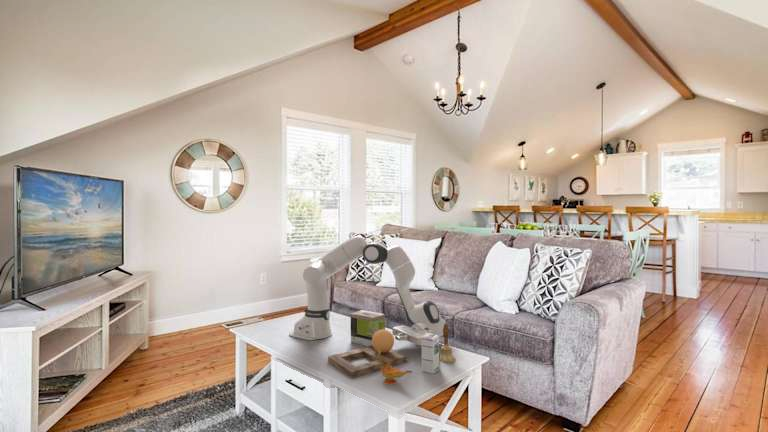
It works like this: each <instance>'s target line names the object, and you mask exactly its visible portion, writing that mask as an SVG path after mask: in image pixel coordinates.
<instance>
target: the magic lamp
mask: <svg viewBox="0 0 768 432" xmlns="http://www.w3.org/2000/svg"><path fill="white" fill-rule="evenodd" d="M378 353H379V354H378V356H379V357H380V354H381V351H380V350H379V349H378ZM378 356H377V358H378ZM380 360H381V358H380ZM377 362H378V360H377ZM378 363H379V362H378ZM381 363H382V361H381ZM382 364H383V363H382ZM379 365H380V366H381V364H380V363H379ZM383 366H386V367H385V368H383V367H382V366H381V367H382V368H383V369H381V370H380V372H381V374H382V376H383V377H384V378H386V379H384V380H383V383H384V384H386V385H394V384H396V383H397V382H398V381H397V379H398V378H400V377H403V376H405V375H407V374H409V373H410V374H411V373H413V371H412V370H405V371H404V370H403V371H401V370H399V368H397V367H394V366H391V365H390V363H389V362H388V363H387V364H386V365H383ZM396 378H397V379H396Z"/></svg>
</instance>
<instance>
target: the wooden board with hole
mask: <svg viewBox="0 0 768 432" xmlns="http://www.w3.org/2000/svg"><path fill="white" fill-rule="evenodd" d="M378 354H379V353H378V351H376V350H375V349H374V347H373V345H371V346H364V347H360V348H356V349H352V350H348V351H345V352H340V353H338V354H333V355H329V356H327V363H329V364H330V365H332V366H333V367H335V368H336V369H337V370H339V371H341V372H342V373H344V374H345V375H346V376H348V377H350V378H351V379H354V378H358V377H361V376H363V375H368V374H371V373H374V372H377V371H382V370H381V369H383V368H385V367H386V366H383V365H386V364H387V363H388V362H389V363H390V365H391V366H392V367H394V366H397V365H400V364H403V363H407V361H408V360H407V355H406V354H403V353H401V352H399V351H398V350H395V349H393V348H392V349H391V350H390V351H388V352H385V353H381V354H380V357H379V356H378ZM377 356H378V358H377ZM359 358H366V359H367V360H369V362H364V363H362V364H359V365H354V364H352V363H351V362H349V361H353V360H356V359H359ZM380 358H381V360H380ZM377 360H378V362H379V363H380V364H381V366H382V367H383V368H382V367H381V366H380V365H379V363H378V362H377ZM381 361H382V363H383V364H382V363H381Z"/></svg>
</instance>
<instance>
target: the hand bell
mask: <svg viewBox="0 0 768 432" xmlns="http://www.w3.org/2000/svg"><path fill="white" fill-rule="evenodd" d="M449 334H450V330H449V326H448V323H447V322H446V323H445V324H444V327H443V337H444V340H443V341H444V342H443V343H444V344H443V345H441V347H440V363H441V362H442V363H453V362H455V361H457V359H456V357H455V355H454V354H453V351H452V350H453V349H452V347H451V345H449Z"/></svg>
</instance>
